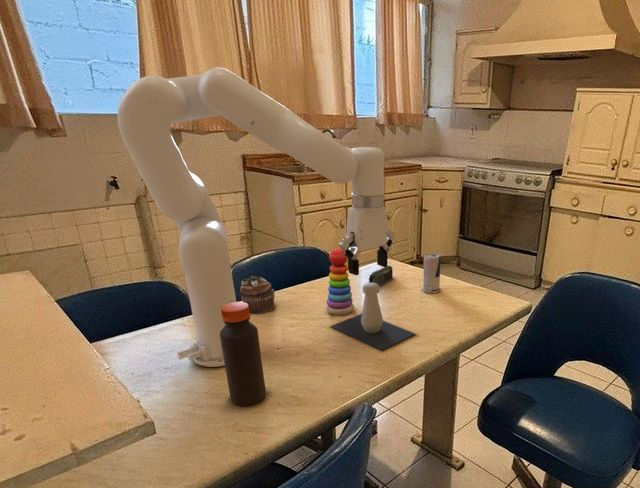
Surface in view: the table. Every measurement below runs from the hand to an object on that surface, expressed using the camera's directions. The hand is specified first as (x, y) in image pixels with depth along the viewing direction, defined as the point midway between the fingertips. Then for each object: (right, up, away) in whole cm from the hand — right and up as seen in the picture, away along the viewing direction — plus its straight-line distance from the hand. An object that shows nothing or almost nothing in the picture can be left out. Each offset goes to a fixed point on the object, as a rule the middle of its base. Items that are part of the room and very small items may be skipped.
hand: (368, 269), depth 115 cm
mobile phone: (-1, -2, +41) cm, 41 cm away
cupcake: (-35, -10, +20) cm, 41 cm away
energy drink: (+17, -5, +35) cm, 39 cm away
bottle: (-22, -28, -22) cm, 42 cm away
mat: (0, -16, +7) cm, 17 cm away
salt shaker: (0, -16, +6) cm, 17 cm away
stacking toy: (-10, -11, +19) cm, 25 cm away
